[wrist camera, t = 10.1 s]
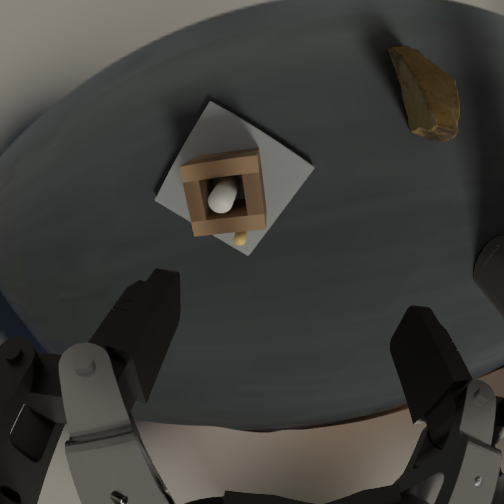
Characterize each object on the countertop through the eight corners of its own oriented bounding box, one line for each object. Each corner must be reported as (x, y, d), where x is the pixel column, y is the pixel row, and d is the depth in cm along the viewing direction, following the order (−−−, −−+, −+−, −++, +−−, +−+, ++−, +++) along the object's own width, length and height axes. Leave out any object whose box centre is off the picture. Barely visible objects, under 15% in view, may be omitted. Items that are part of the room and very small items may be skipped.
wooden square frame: (259, 147, 25) (257, 155, 21) (266, 209, 28) (266, 229, 24) (194, 156, 26) (179, 166, 22) (205, 216, 29) (194, 236, 24)
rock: (368, 25, 17) (365, 118, 21) (452, 22, 11) (456, 131, 14) (414, 67, 23) (410, 140, 27) (477, 73, 17) (476, 155, 20)
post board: (313, 165, 27) (326, 182, 20) (249, 251, 32) (244, 288, 26) (212, 101, 24) (193, 98, 18) (157, 197, 29) (130, 222, 23)
